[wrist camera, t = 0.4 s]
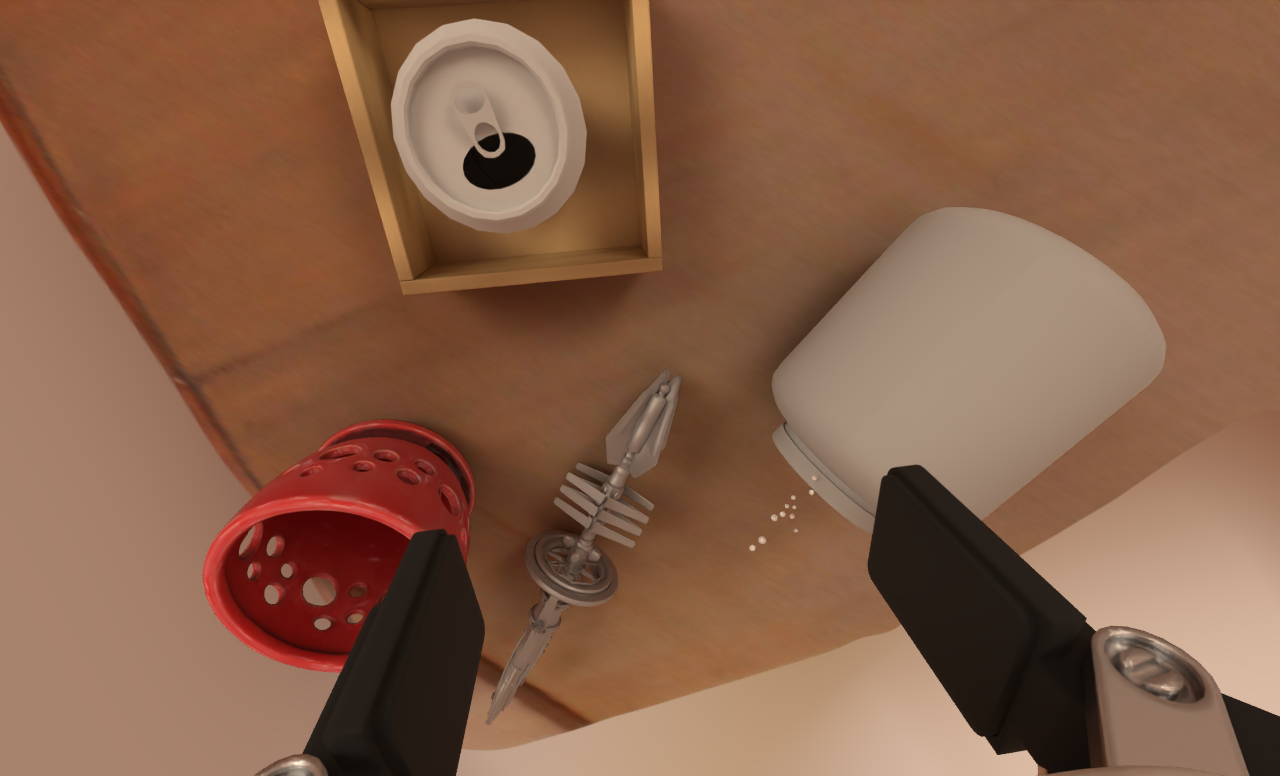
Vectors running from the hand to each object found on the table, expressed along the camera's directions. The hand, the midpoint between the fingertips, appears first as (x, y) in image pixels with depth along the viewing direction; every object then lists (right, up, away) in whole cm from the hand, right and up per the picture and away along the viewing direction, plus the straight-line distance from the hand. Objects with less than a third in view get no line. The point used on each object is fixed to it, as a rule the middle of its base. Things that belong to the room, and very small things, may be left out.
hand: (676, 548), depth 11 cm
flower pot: (-19, -3, +27) cm, 33 cm away
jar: (+15, +4, +28) cm, 32 cm away
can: (-8, +18, +18) cm, 27 cm away
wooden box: (-8, +18, +18) cm, 27 cm away
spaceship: (-7, -9, +31) cm, 33 cm away
